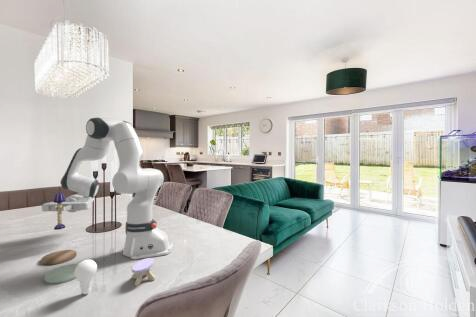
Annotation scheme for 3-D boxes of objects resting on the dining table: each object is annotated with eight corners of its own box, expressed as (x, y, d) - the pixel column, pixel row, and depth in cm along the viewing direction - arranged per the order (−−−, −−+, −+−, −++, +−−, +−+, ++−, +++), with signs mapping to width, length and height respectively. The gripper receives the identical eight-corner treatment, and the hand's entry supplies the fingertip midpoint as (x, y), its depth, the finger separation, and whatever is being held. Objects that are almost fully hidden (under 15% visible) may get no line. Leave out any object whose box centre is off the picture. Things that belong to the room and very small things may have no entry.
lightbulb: (77, 302, 68) (77, 267, 68) (72, 294, 72) (72, 260, 72) (99, 293, 72) (99, 260, 72) (93, 286, 77) (94, 254, 76)
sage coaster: (90, 265, 91) (90, 262, 91) (74, 282, 79) (75, 278, 79) (57, 268, 88) (57, 265, 88) (36, 285, 76) (36, 281, 76)
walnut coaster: (81, 251, 103) (81, 249, 103) (67, 263, 92) (67, 261, 92) (52, 253, 101) (52, 250, 101) (33, 266, 89) (33, 263, 89)
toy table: (142, 289, 75) (142, 272, 75) (122, 283, 78) (122, 267, 78) (161, 275, 84) (162, 260, 84) (143, 270, 88) (143, 256, 88)
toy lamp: (51, 229, 104) (50, 193, 104) (61, 226, 109) (61, 192, 109) (57, 230, 103) (57, 194, 103) (68, 227, 107) (68, 192, 107)
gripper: (51, 198, 116) (33, 203, 103) (94, 196, 120) (82, 202, 107) (52, 210, 116) (33, 217, 103) (94, 208, 120) (82, 215, 107)
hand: (58, 209), depth 105 cm, fingers closed on toy lamp
